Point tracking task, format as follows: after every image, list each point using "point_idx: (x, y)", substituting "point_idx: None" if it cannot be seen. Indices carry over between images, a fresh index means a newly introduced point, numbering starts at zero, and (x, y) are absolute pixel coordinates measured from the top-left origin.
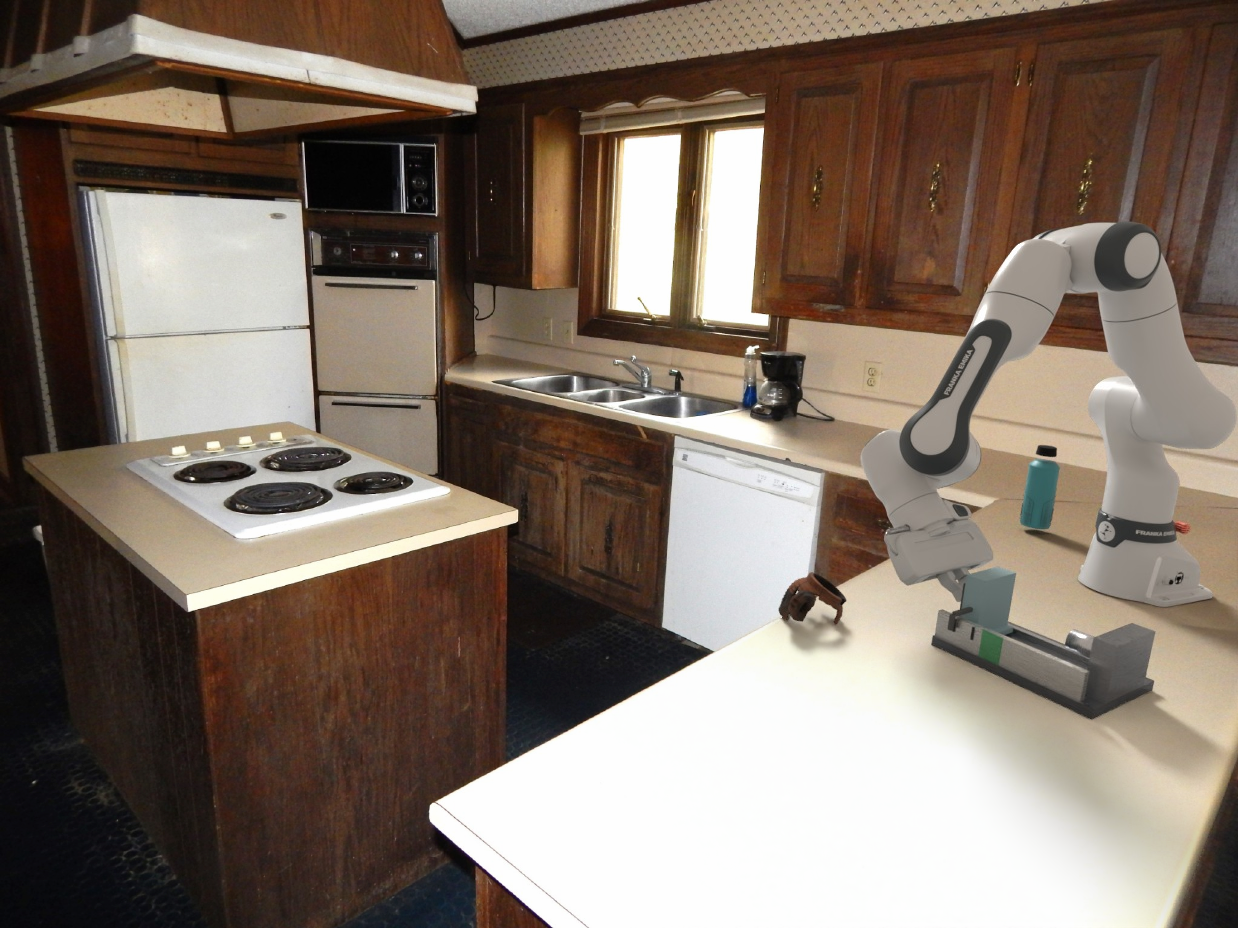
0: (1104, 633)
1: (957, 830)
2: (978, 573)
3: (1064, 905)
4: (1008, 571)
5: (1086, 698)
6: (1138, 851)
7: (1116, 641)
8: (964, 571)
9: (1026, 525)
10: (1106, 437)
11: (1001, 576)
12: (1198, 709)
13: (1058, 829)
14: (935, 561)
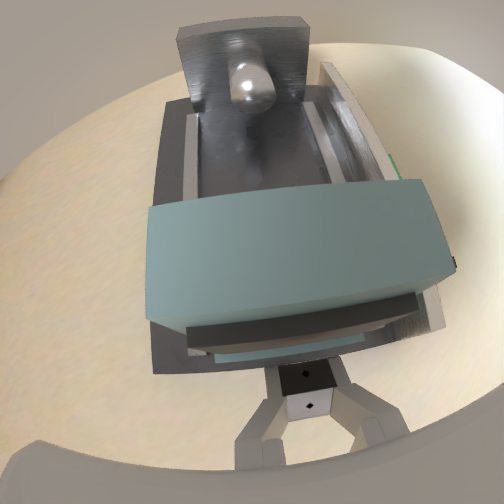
0: (275, 26)
1: (494, 105)
2: (390, 264)
3: (462, 69)
4: (170, 231)
5: (310, 96)
6: (411, 54)
7: (284, 19)
8: (270, 453)
9: None
10: None
11: (288, 189)
12: (173, 86)
13: (446, 76)
14: (498, 438)
